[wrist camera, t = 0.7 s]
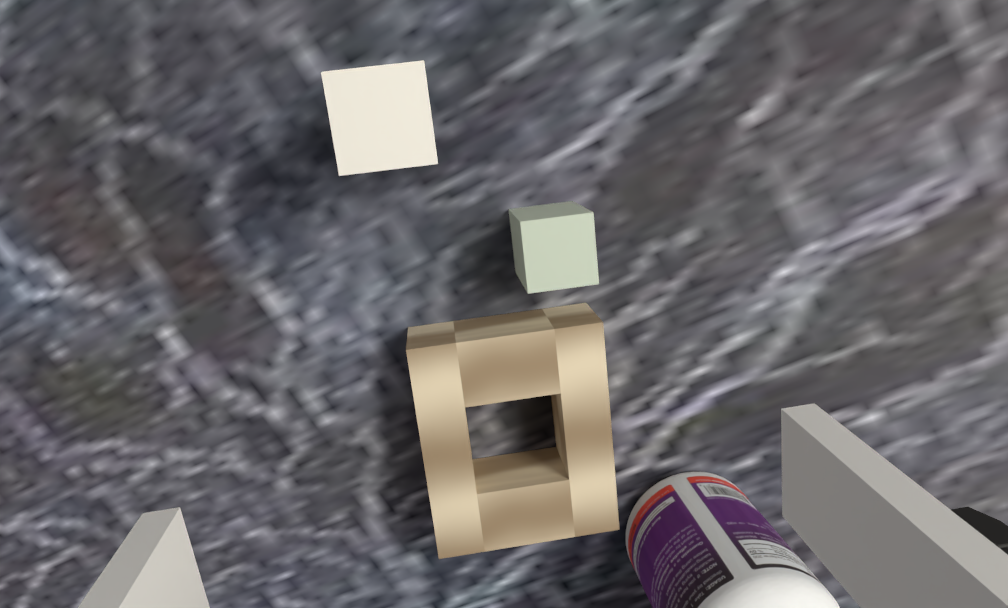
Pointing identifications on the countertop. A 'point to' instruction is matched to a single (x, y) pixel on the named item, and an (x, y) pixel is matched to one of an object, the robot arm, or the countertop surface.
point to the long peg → (380, 117)
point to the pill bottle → (714, 550)
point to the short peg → (554, 246)
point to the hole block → (524, 475)
